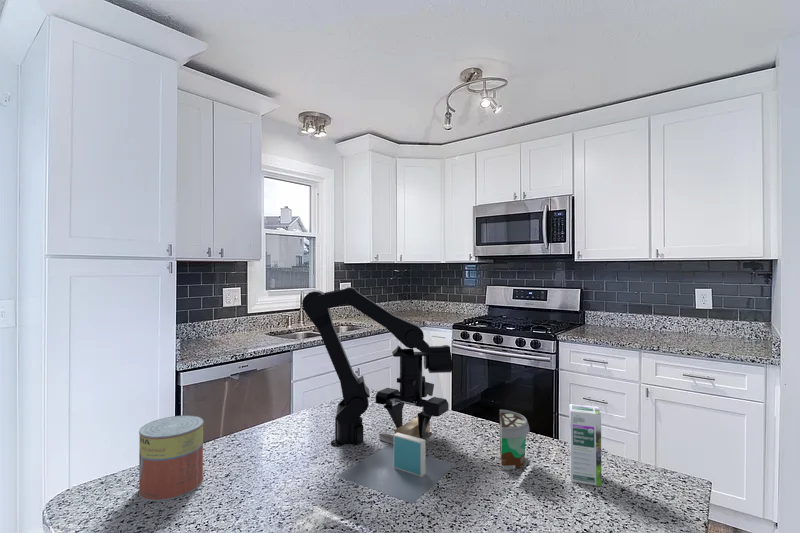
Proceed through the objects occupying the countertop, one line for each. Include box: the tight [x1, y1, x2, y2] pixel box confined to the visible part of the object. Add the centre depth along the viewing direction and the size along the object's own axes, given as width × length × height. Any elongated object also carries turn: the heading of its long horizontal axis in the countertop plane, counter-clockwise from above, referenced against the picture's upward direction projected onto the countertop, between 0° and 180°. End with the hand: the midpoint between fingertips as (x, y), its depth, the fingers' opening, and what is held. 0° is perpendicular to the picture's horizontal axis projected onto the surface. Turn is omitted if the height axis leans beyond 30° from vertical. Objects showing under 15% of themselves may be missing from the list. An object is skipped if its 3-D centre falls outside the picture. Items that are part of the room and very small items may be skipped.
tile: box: [393, 432, 426, 477], centre depth 87 cm, size 7×2×7 cm, turn 56°
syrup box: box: [568, 403, 603, 488], centre depth 85 cm, size 6×6×14 cm
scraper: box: [379, 416, 431, 445], centre depth 105 cm, size 13×11×4 cm
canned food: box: [138, 414, 205, 502], centre depth 82 cm, size 11×11×12 cm
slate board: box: [337, 444, 457, 505], centre depth 87 cm, size 18×18×1 cm
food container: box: [499, 409, 530, 471], centre depth 91 cm, size 12×6×10 cm, turn 168°
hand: (410, 435), depth 104 cm, fingers open, 6 cm apart
